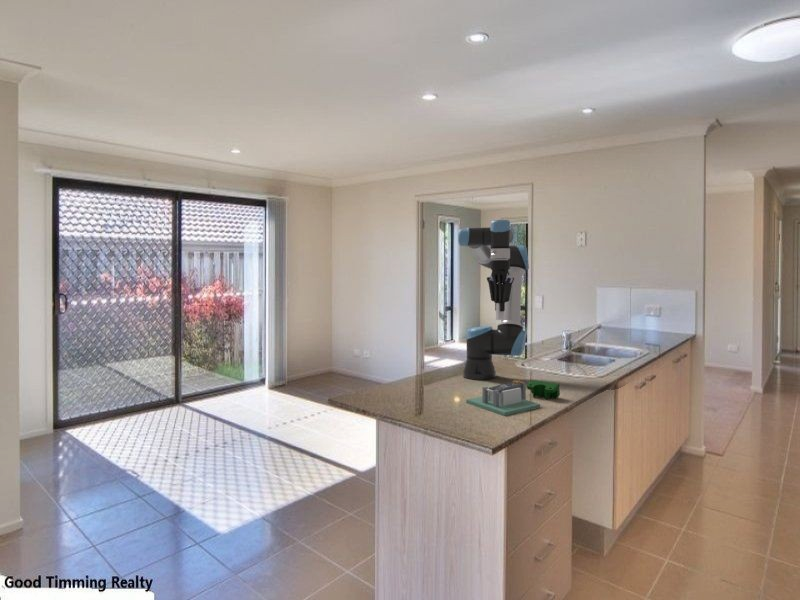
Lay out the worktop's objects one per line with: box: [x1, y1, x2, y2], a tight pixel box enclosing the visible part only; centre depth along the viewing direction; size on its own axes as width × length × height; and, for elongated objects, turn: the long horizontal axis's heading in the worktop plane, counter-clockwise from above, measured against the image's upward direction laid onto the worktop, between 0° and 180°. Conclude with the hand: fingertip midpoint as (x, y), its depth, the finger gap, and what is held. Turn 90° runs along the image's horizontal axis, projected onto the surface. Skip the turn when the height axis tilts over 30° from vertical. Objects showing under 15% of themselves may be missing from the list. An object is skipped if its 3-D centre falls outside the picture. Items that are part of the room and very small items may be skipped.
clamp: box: [526, 379, 561, 401], centre depth 196 cm, size 12×6×9 cm, turn 42°
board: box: [465, 381, 541, 417], centre depth 186 cm, size 18×20×8 cm
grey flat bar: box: [488, 379, 522, 392], centre depth 186 cm, size 14×4×2 cm, turn 123°
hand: (499, 319), depth 198 cm, fingers closed
